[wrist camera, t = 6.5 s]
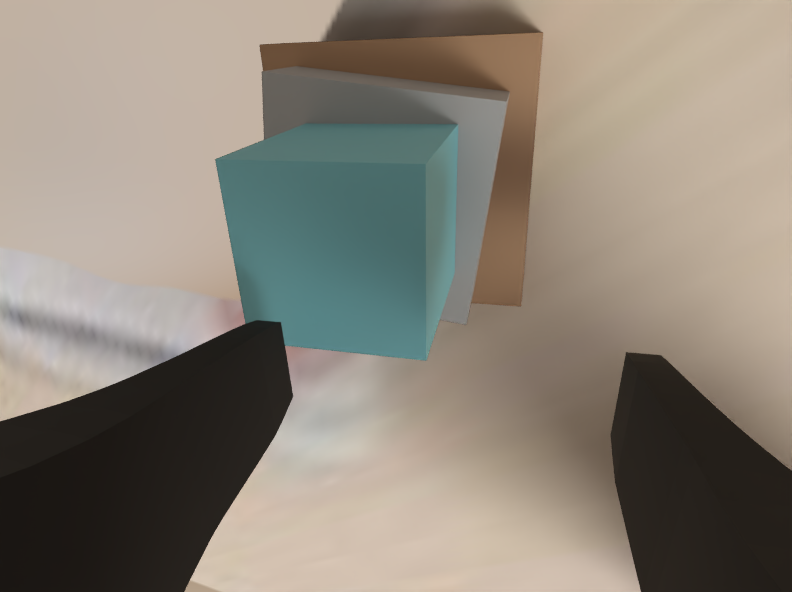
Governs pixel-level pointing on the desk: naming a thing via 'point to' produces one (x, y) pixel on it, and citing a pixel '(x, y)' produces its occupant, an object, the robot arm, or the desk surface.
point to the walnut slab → (473, 67)
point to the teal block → (346, 233)
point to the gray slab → (406, 104)
